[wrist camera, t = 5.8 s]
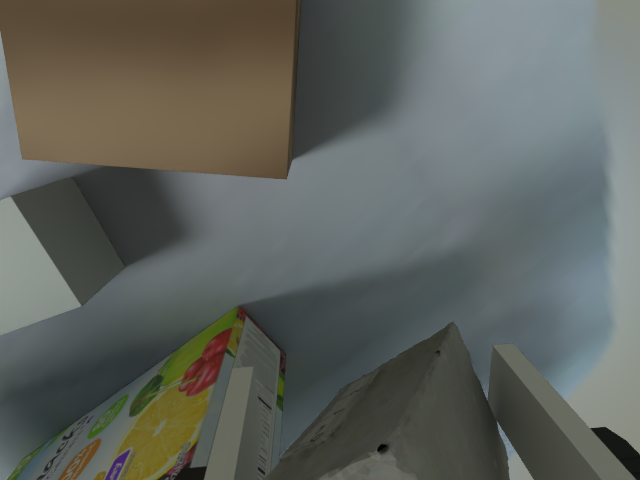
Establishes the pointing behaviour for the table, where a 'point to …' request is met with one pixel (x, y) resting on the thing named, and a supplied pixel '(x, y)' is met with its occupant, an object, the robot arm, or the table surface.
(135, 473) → the snack box
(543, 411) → the robot arm
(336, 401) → the mineral specimen
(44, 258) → the light gray block
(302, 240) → the table surface
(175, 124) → the walnut block
